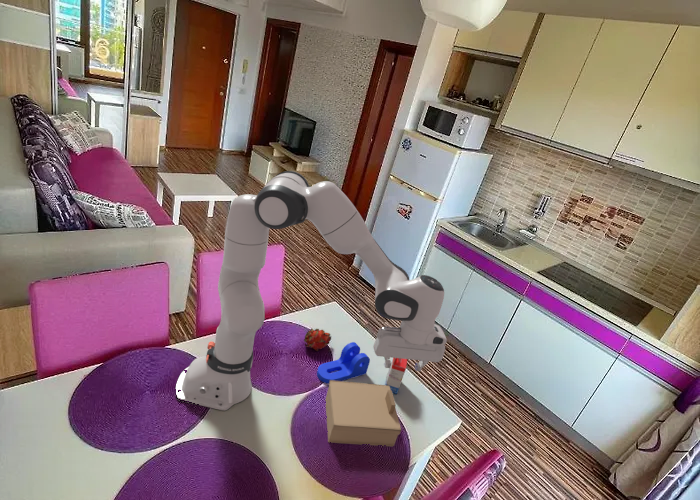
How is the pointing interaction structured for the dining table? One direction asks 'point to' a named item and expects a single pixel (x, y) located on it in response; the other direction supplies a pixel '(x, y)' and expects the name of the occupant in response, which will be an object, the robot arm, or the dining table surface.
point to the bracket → (345, 365)
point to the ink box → (396, 374)
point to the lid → (363, 408)
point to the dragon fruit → (317, 339)
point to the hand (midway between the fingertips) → (402, 368)
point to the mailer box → (353, 436)
